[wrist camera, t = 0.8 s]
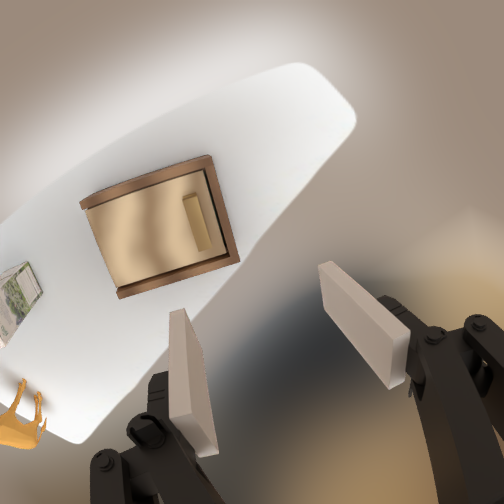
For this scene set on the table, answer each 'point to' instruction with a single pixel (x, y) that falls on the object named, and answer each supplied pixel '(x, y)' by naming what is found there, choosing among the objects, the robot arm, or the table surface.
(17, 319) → the syrup box
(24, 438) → the giraffe
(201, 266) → the walnut box
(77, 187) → the table surface
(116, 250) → the cover plate
